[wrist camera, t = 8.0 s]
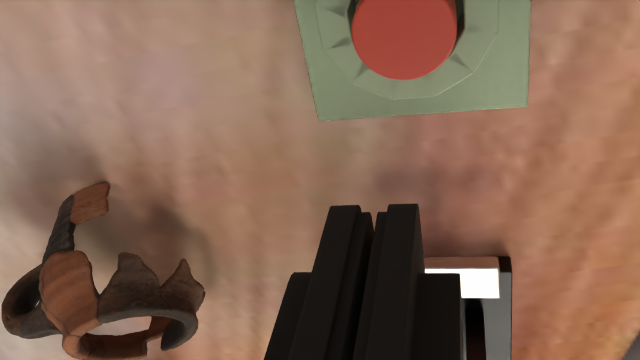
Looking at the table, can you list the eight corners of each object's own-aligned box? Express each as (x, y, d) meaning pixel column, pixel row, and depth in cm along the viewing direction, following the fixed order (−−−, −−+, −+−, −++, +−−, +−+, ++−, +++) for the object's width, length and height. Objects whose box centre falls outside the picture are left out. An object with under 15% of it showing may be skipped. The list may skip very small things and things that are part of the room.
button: (350, -28, 21) (343, -12, 19) (454, -42, 20) (454, -26, 19) (364, 65, 23) (358, 85, 21) (458, 56, 22) (459, 77, 21)
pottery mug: (140, 150, 32) (154, 286, 27) (222, 219, 40) (242, 333, 35) (-38, 230, 34) (-53, 369, 29) (73, 281, 42) (74, 397, 37)
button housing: (278, -129, 22) (254, -111, 19) (529, -175, 20) (543, -162, 17) (324, 103, 28) (310, 143, 25) (523, 88, 26) (533, 130, 23)
